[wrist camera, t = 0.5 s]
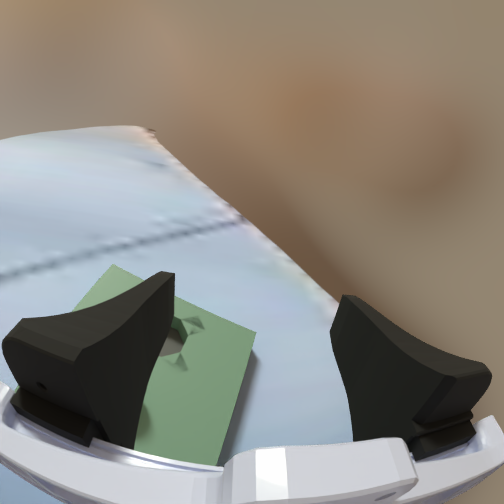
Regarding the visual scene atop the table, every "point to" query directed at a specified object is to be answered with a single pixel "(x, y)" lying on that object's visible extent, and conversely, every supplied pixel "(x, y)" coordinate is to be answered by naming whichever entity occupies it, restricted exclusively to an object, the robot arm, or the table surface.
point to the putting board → (186, 377)
